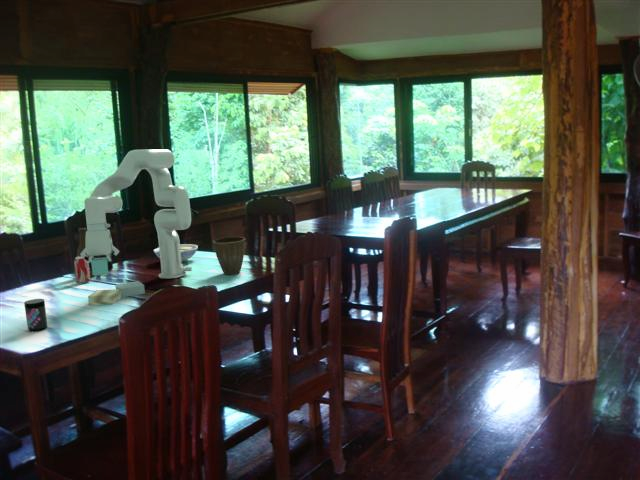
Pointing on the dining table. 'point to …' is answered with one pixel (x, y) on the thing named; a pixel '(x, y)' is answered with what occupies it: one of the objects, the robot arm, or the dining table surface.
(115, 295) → the tan flat lump
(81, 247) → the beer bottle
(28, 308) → the supplement container
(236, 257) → the plant pot
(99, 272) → the teal cube
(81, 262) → the beverage can
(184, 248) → the ramen bowl
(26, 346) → the dining table surface
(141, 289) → the slate block
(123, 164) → the robot arm
